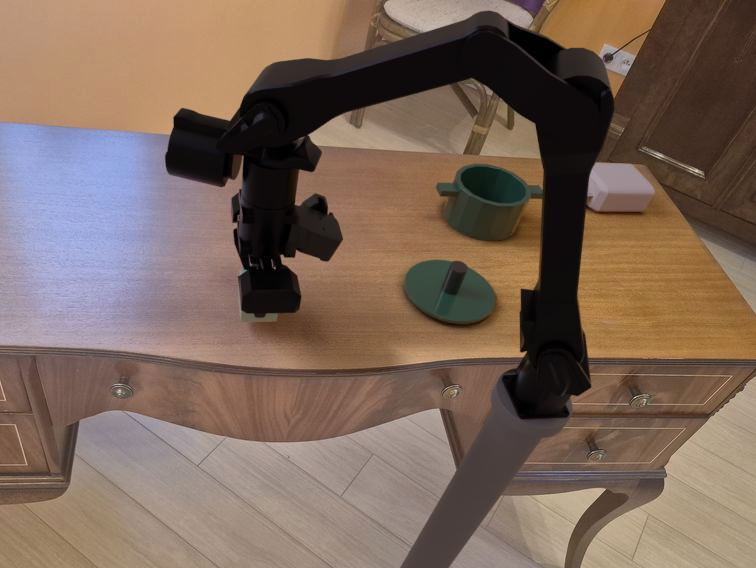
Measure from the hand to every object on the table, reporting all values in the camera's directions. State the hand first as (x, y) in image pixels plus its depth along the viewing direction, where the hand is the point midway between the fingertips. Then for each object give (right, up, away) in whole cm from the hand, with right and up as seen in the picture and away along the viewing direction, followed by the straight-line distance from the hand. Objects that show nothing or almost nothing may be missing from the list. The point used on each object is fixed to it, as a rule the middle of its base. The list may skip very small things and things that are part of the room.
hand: (257, 303), depth 75 cm
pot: (+34, +15, +23) cm, 44 cm away
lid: (+26, +2, +9) cm, 28 cm away
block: (0, -1, +1) cm, 1 cm away
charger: (+56, +20, +32) cm, 68 cm away
